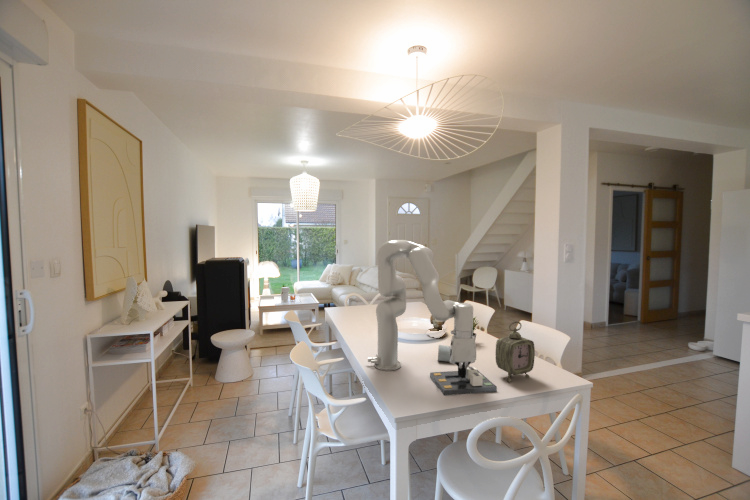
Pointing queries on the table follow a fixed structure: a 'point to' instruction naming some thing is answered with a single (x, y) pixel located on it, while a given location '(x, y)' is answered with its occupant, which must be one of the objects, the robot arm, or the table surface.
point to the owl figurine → (437, 325)
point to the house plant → (474, 327)
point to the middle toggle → (470, 371)
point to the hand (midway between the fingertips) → (461, 376)
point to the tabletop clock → (515, 354)
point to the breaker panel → (459, 383)
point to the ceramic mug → (444, 353)
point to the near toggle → (476, 379)
